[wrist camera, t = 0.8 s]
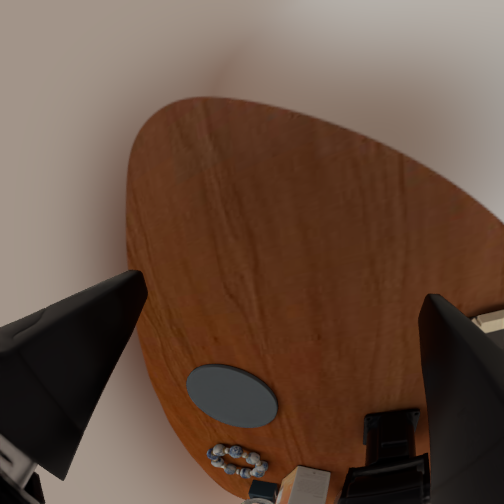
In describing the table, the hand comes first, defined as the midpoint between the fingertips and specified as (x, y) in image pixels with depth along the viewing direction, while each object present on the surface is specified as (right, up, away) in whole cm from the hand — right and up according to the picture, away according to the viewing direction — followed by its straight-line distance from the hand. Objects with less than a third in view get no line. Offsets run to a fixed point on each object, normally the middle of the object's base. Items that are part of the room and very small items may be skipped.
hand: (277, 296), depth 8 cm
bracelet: (-3, -31, +29) cm, 43 cm away
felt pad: (-3, -16, +23) cm, 28 cm away
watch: (+2, -42, +32) cm, 53 cm away
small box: (+8, -34, +27) cm, 45 cm away
